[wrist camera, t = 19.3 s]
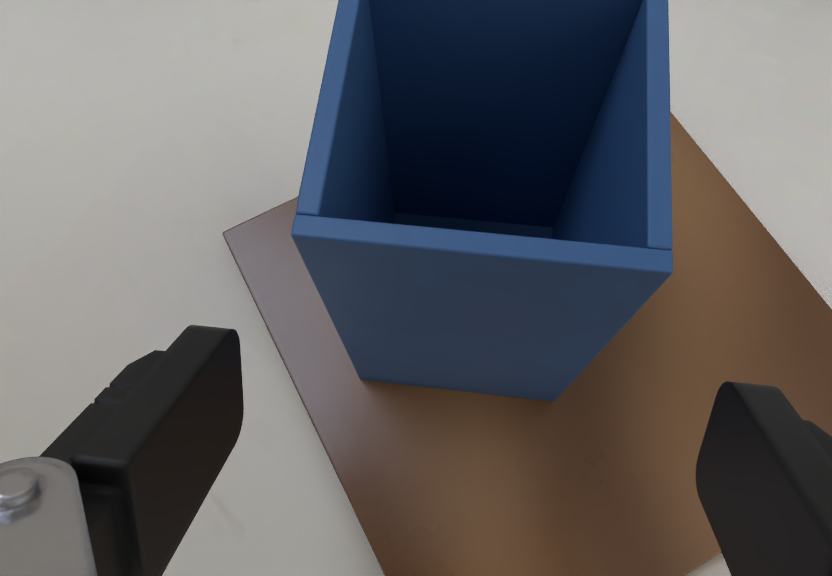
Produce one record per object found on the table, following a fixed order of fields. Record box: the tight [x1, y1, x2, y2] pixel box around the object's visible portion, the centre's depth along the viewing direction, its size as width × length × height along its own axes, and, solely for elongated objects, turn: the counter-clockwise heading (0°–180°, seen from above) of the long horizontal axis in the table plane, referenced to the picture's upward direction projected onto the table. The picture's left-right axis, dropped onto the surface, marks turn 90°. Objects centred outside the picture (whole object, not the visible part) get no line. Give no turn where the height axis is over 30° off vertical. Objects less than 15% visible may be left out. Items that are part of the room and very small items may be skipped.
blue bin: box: [291, 0, 673, 402], centre depth 16 cm, size 6×6×10 cm
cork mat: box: [223, 112, 832, 576], centre depth 21 cm, size 16×16×1 cm
